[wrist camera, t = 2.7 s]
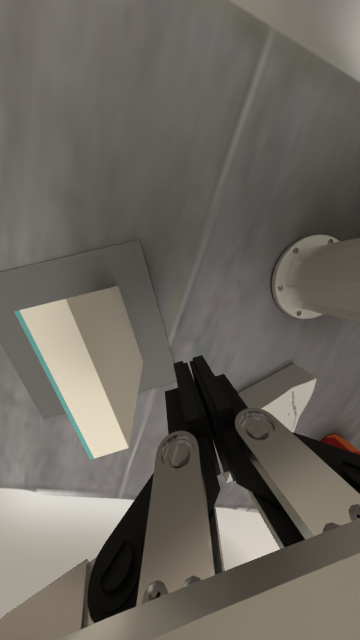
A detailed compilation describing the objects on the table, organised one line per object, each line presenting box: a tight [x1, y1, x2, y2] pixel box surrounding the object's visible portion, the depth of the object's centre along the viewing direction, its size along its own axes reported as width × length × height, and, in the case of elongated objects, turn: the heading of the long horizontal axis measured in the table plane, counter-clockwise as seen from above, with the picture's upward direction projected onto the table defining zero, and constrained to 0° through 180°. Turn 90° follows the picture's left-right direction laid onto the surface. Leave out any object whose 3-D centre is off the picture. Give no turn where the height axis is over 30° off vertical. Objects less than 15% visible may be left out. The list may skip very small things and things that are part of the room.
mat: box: [0, 240, 177, 419], centre depth 25 cm, size 22×22×1 cm
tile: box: [14, 286, 143, 460], centre depth 19 cm, size 3×12×14 cm, turn 13°
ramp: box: [224, 363, 317, 483], centre depth 32 cm, size 28×16×5 cm, turn 158°
